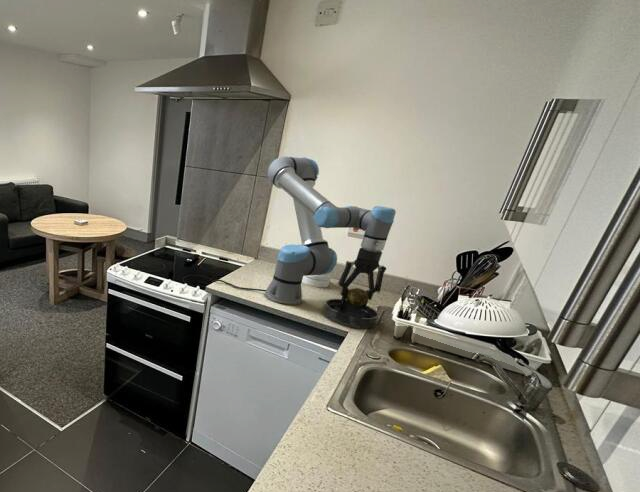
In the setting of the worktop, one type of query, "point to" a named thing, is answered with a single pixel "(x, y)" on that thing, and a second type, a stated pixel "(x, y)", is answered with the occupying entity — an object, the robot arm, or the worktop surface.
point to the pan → (350, 314)
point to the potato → (357, 297)
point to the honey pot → (317, 280)
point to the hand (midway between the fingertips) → (352, 304)
